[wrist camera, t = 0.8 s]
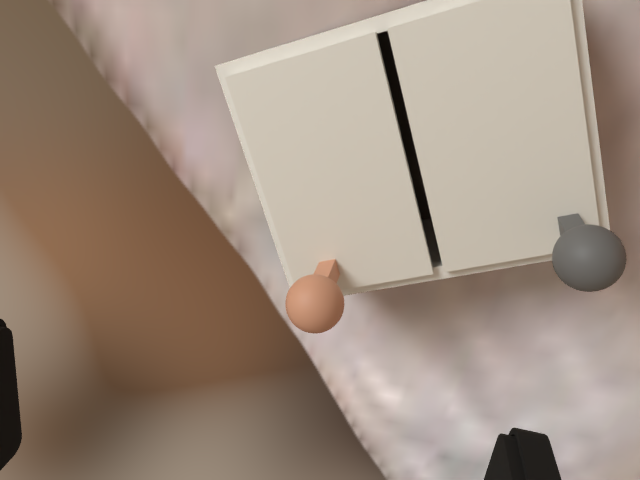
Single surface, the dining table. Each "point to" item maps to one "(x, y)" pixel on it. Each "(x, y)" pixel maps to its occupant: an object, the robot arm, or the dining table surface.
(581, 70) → the carton
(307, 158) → the flap
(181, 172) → the dining table surface
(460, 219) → the flap
